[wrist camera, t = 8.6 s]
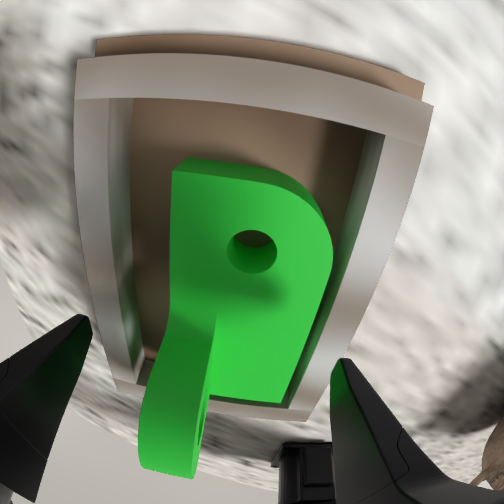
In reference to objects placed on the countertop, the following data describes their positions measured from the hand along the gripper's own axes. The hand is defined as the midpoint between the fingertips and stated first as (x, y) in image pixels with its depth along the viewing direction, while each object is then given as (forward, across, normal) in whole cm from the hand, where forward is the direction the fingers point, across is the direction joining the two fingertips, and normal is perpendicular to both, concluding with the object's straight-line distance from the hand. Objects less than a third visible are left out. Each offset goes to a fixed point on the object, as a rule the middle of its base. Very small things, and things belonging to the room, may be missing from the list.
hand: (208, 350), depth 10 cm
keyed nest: (+6, 0, 0) cm, 6 cm away
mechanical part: (+5, -1, +1) cm, 5 cm away
